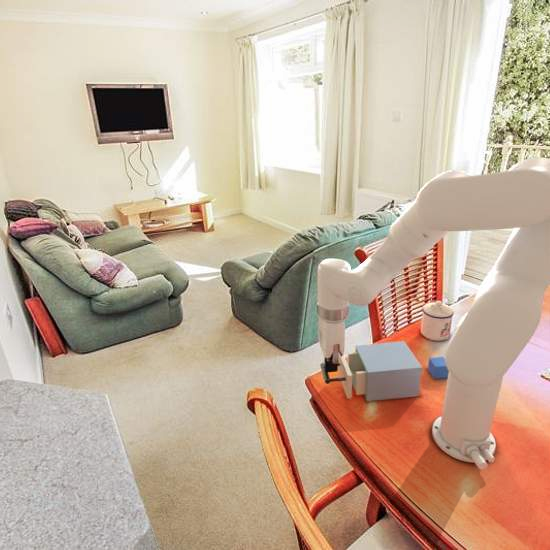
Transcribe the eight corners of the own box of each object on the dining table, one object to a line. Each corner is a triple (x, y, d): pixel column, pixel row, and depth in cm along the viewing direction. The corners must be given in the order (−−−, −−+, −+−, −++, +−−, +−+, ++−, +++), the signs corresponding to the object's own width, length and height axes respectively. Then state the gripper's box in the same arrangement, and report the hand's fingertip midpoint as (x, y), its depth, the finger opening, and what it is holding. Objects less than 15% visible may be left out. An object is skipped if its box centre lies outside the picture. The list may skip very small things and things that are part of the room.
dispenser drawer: (326, 400, 95) (326, 377, 92) (319, 374, 104) (319, 353, 102) (395, 394, 96) (397, 371, 93) (381, 368, 105) (383, 346, 102)
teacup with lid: (445, 344, 115) (450, 311, 110) (415, 336, 120) (419, 304, 116) (456, 327, 123) (461, 296, 119) (428, 319, 129) (431, 289, 124)
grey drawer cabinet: (366, 401, 95) (368, 372, 91) (354, 372, 106) (355, 345, 102) (419, 396, 96) (422, 367, 92) (401, 367, 106) (404, 340, 103)
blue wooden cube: (448, 377, 101) (450, 365, 100) (434, 378, 101) (435, 366, 100) (441, 368, 105) (443, 356, 103) (427, 369, 105) (429, 357, 103)
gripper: (312, 296, 97) (311, 354, 105) (323, 327, 83) (322, 391, 91) (340, 294, 97) (338, 351, 105) (356, 324, 84) (352, 388, 91)
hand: (330, 369), depth 98 cm, fingers closed
